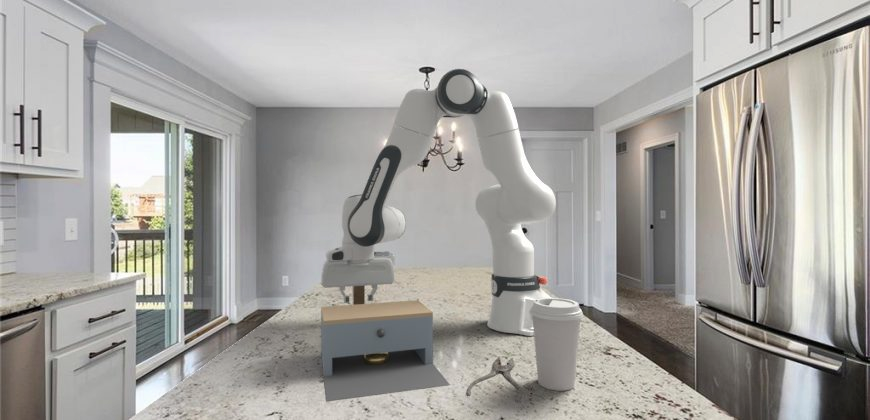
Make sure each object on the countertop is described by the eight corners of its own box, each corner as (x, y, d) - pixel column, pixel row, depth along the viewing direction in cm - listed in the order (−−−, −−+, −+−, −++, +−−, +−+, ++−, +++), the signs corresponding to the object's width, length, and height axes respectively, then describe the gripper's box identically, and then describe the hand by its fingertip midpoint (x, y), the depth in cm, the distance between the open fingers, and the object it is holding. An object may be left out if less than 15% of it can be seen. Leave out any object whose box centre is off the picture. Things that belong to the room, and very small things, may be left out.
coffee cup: (546, 369, 86) (546, 294, 85) (592, 383, 79) (592, 302, 79) (519, 383, 79) (519, 302, 79) (567, 399, 72) (567, 311, 72)
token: (386, 356, 93) (386, 348, 93) (389, 364, 88) (389, 356, 88) (363, 358, 92) (363, 350, 92) (365, 366, 87) (365, 358, 87)
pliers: (466, 397, 72) (467, 355, 92) (466, 402, 72) (467, 359, 92) (524, 399, 71) (513, 357, 91) (524, 404, 71) (513, 361, 91)
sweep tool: (372, 319, 122) (371, 275, 122) (386, 343, 101) (386, 290, 101) (343, 321, 120) (343, 277, 120) (352, 347, 98) (352, 292, 98)
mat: (416, 343, 102) (416, 343, 102) (450, 385, 78) (450, 384, 78) (321, 352, 95) (321, 352, 95) (326, 401, 72) (326, 401, 72)
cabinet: (418, 346, 100) (418, 300, 100) (434, 365, 88) (434, 313, 88) (321, 355, 94) (321, 306, 93) (323, 378, 81) (323, 322, 81)
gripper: (392, 250, 126) (392, 296, 126) (320, 252, 120) (321, 301, 120) (396, 252, 120) (397, 301, 120) (321, 254, 114) (321, 306, 114)
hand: (358, 301), depth 120 cm, fingers open, 5 cm apart
